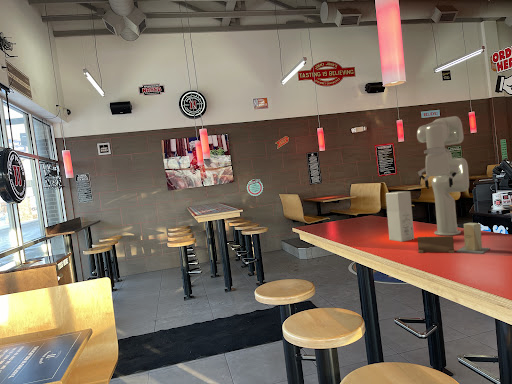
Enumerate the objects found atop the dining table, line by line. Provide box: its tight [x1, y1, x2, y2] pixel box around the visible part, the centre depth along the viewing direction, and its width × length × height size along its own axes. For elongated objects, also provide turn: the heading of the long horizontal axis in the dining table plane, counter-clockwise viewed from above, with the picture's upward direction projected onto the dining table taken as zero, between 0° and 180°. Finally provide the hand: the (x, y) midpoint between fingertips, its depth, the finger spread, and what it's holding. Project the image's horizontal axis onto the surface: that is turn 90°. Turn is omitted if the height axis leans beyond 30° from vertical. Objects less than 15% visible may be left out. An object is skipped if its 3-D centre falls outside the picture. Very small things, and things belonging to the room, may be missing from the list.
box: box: [463, 222, 483, 251], centre depth 160 cm, size 5×4×11 cm
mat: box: [456, 246, 491, 255], centre depth 160 cm, size 10×10×1 cm
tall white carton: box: [385, 191, 415, 243], centre depth 198 cm, size 9×9×25 cm
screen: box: [417, 235, 455, 254], centre depth 164 cm, size 5×14×6 cm, turn 65°
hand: (439, 187), depth 178 cm, fingers open, 9 cm apart
